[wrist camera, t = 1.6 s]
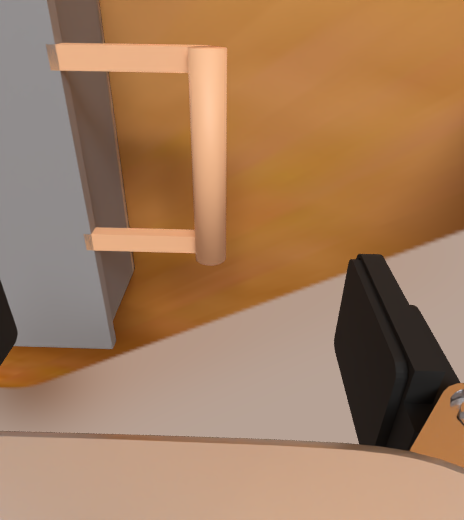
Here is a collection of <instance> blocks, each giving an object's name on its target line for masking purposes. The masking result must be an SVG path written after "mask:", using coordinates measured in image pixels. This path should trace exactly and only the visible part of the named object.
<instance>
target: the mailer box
mask: <svg viewBox="0 0 464 520" xmlns="http://www.w3.org/2000/svg"><path fill="white" fill-rule="evenodd" d="M55 5H56V11H57V16H58V22H59V28H60V33H61V39H62V43H102V44H105V41H104V34H103V26H102V19H101V11H100V4H99V0H55ZM67 72H68V77H69V83H70V88H71V94H72V99H73V105H74V110H75V116H76V121H77V127H78V133H79V138H80V144H81V149H82V155H83V160H84V166H85V171H86V177H87V182H88V188H89V193H90V199H91V204H92V210H93V215H94V221H95V226H96V227H102V228H129V222H128V214H127V207H126V199H125V192H124V184H123V177H122V169H121V162H120V154H119V147H118V139H117V132H116V124H115V117H114V109H113V102H112V94H111V87H110V79H109V72H108V71H67ZM100 254H101V260H102V265H103V271H104V276H105V282H106V287H107V293H108V298H109V304H110V309H111V315H112V320H113V319H114V317H115V315H116V312H117V310H118V307H119V305H120V303H121V300H122V298H123V295H124V293H125V291H126V288H127V286H128V283H129V281H130V279H131V276H132V274H133V271H134V269H135V267H134V259H133V252H132V251H100Z"/></svg>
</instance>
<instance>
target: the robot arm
mask: <svg viewBox="0 0 464 520" xmlns="http://www.w3.org/2000/svg"><path fill="white" fill-rule="evenodd" d="M17 335H18V331H17V327H16V324H15V321H14V318H13V315H12V312H11V309H10V307H9V304H8V301H7V298H6V295H5V292H4V289H3V286H2V283H1V280H0V365H1V364H2V362H3V361H4V359H5V358H6V356H7V355H8V353H9V352H10V350H11V349H12V347H13V346H14V344H15V342H16V340H17ZM334 347H335V353H336V357H337V361H338V364H339V368H340V372H341V376H342V380H343V384H344V387H345V391H346V395H347V399H348V403H349V407H350V410H351V414H352V418H353V422H354V425H355V430H356V433H357V437H358V441H359V444H349V443H335V442H315V441H295V440H275V439H274V440H273V439H248V438H219V437H189V436H187V437H186V436H160V435H159V436H158V435H125V434H89V433H55V432H19V431H0V520H464V383H460V381H459V379H458V378H457V376H456V374H455V372H454V371H453V369H452V367H451V365H450V363H449V362H448V360H447V358H446V356H445V355H444V353H443V351H442V349H441V348H440V346H439V344H438V342H437V340H436V339H435V337H434V335H433V333H432V332H431V330H430V328H429V326H428V325H427V323H426V321H425V319H424V318H423V316H422V314H421V312H420V311H419V309H418V308H417V307H416V306H414V305H409V303H408V301H407V300H406V298H405V296H404V294H403V292H402V290H401V289H400V287H399V285H398V283H397V281H396V280H395V278H394V276H393V274H392V272H391V270H390V268H389V267H388V265H387V263H386V261H385V259H384V257H383V256H382V255H380V254H359V255H358V256H357V258H356V259H351V260H350V261H349V264H348V269H347V274H346V280H345V286H344V290H343V296H342V301H341V306H340V311H339V316H338V322H337V327H336V333H335V338H334Z"/></svg>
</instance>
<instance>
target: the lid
mask: <svg viewBox="0 0 464 520" xmlns="http://www.w3.org/2000/svg"><path fill="white" fill-rule="evenodd" d="M67 71H112V72H169V73H189V98H190V123H191V148H192V173H193V199H194V224H195V230H183V229H142V228H102V227H96V226H95V221H94V215H93V210H92V204H91V199H90V193H89V188H88V182H87V177H86V171H85V166H84V160H83V155H82V149H81V144H80V138H79V133H78V127H77V121H76V116H75V110H74V105H73V99H72V94H71V88H70V83H69V77H68V72H67ZM226 134H227V48H226V47H218V46H210V45H164V44H102V43H62V39H61V33H60V28H59V22H58V16H57V11H56V5H55V0H0V280H1V283H2V286H3V289H4V292H5V295H6V298H7V301H8V304H9V307H10V309H11V312H12V315H13V318H14V321H15V324H16V327H17V331H18V335H17V340H16V342H15V344H14V346H29V347H62V348H95V349H113V347H114V345H115V342H116V337H115V331H114V326H113V320H112V315H111V309H110V304H109V298H108V293H107V287H106V282H105V276H104V271H103V265H102V260H101V254H100V251H134V252H172V253H196V260H197V261H198V262H199V263H201V264H203V265H218V264H221V263H222V262H224V261H225V259H226Z"/></svg>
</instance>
